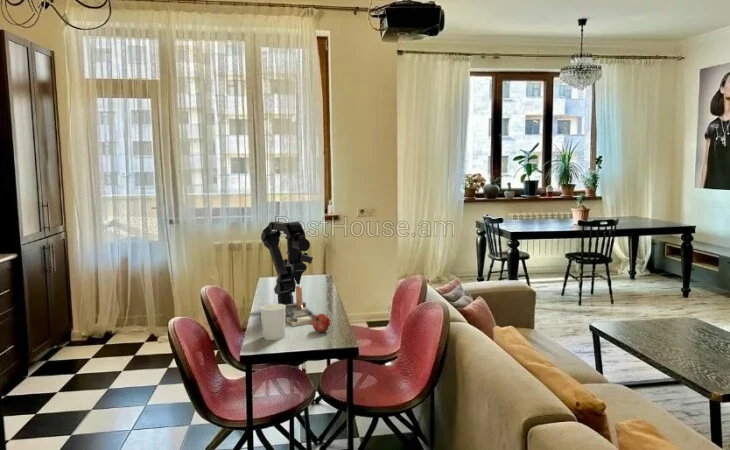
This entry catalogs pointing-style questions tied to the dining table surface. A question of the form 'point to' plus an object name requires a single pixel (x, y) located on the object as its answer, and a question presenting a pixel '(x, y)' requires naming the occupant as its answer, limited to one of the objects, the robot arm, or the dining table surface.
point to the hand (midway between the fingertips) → (295, 282)
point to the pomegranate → (321, 323)
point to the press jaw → (299, 304)
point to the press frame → (300, 319)
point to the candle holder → (273, 321)
